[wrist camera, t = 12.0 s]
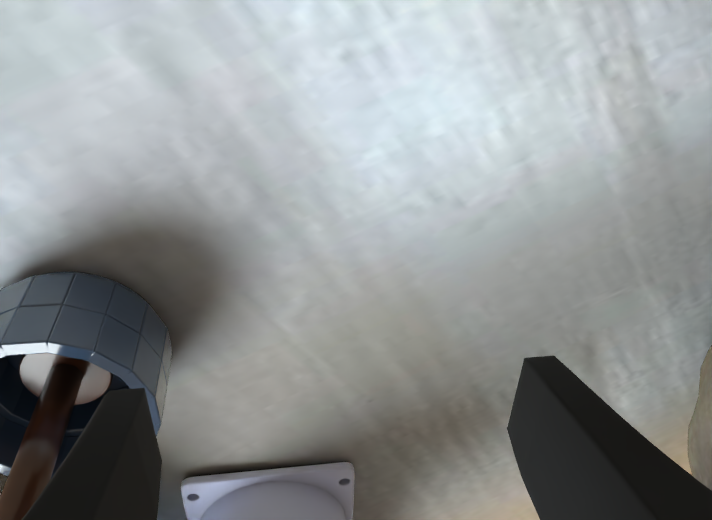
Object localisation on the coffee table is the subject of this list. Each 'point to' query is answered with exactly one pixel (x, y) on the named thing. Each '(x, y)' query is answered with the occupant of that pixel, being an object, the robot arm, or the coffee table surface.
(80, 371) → the wooden stamp
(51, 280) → the stir bowl
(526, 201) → the coffee table surface
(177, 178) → the coffee table surface
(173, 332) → the coffee table surface
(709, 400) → the bowl
